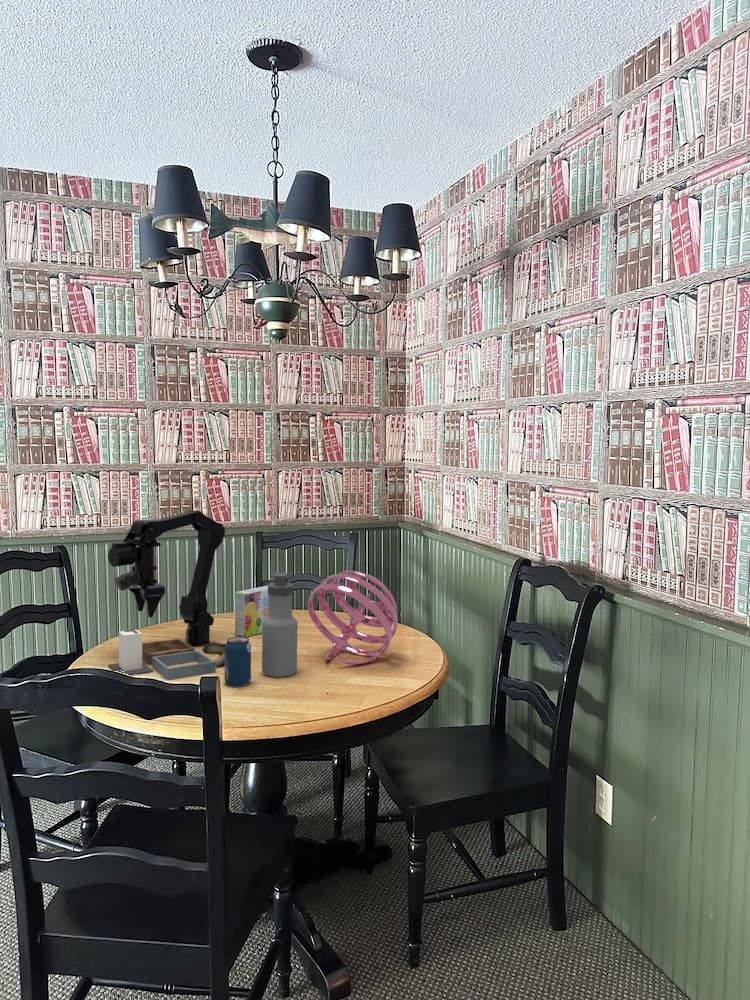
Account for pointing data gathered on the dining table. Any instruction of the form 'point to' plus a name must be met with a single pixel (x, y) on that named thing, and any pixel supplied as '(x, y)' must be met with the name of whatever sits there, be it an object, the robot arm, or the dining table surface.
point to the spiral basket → (355, 614)
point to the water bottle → (279, 630)
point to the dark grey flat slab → (131, 672)
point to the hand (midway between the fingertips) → (145, 614)
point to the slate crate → (202, 667)
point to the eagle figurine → (215, 651)
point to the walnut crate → (164, 648)
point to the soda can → (237, 661)
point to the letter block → (130, 650)
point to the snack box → (251, 610)
